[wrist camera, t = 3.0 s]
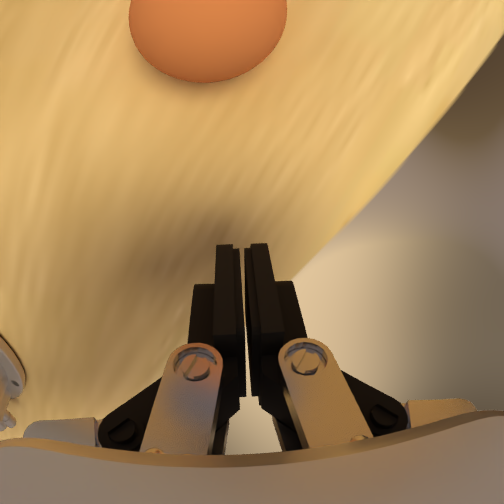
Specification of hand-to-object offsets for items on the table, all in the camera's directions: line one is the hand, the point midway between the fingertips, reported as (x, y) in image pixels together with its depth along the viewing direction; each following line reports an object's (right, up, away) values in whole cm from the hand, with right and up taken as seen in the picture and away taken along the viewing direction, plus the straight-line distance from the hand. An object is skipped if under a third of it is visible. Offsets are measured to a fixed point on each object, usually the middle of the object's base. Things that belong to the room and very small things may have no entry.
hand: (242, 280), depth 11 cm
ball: (-1, +9, -2) cm, 10 cm away
